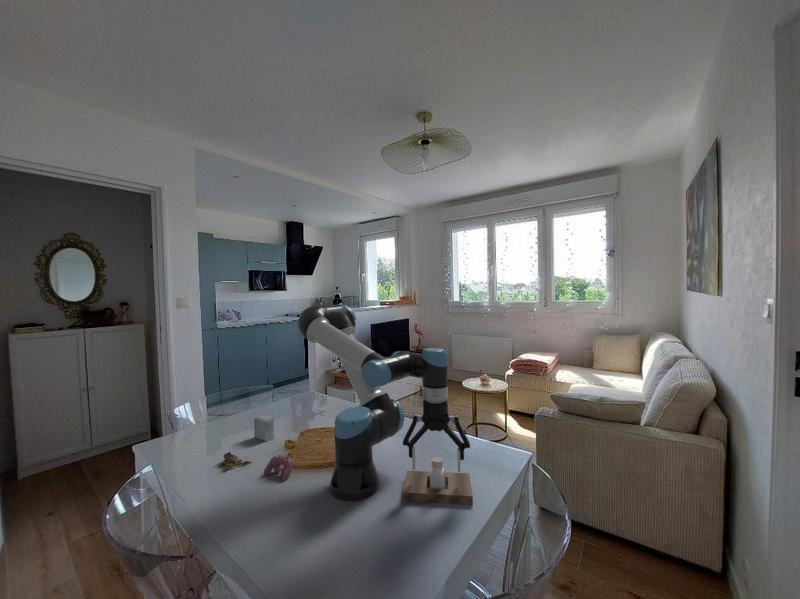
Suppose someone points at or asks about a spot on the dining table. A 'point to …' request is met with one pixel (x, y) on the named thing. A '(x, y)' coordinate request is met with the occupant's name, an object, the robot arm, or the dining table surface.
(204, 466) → the dining table surface
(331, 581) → the dining table surface
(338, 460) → the robot arm
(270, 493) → the dining table surface
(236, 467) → the frog figurine
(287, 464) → the video game controller
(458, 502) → the spice block
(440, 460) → the pepper shaker
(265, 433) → the medicine box
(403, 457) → the dining table surface
